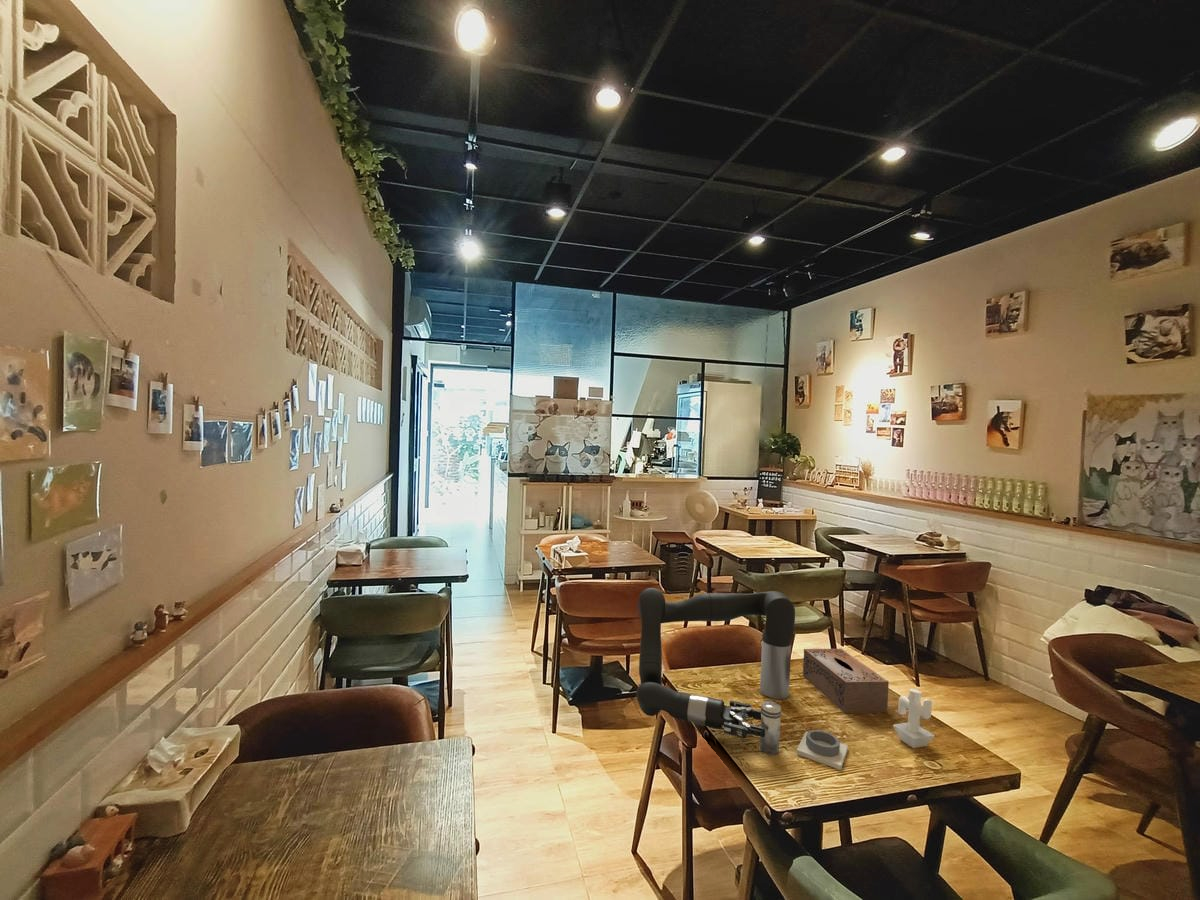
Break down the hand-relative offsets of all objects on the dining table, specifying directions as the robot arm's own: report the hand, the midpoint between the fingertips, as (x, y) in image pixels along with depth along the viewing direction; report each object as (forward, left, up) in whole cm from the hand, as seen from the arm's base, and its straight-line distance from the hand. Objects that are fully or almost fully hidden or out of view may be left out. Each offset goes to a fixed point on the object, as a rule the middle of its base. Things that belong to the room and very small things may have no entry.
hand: (765, 724), depth 140 cm
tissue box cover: (-50, +12, -7) cm, 52 cm away
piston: (-1, +1, -7) cm, 7 cm away
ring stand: (-8, +13, -7) cm, 17 cm away
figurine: (-30, +33, -7) cm, 45 cm away
